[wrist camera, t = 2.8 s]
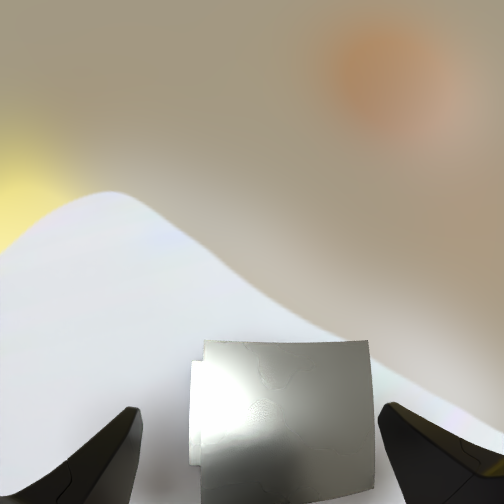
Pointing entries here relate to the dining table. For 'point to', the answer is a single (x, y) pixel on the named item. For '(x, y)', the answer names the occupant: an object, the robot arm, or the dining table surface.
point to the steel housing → (282, 421)
